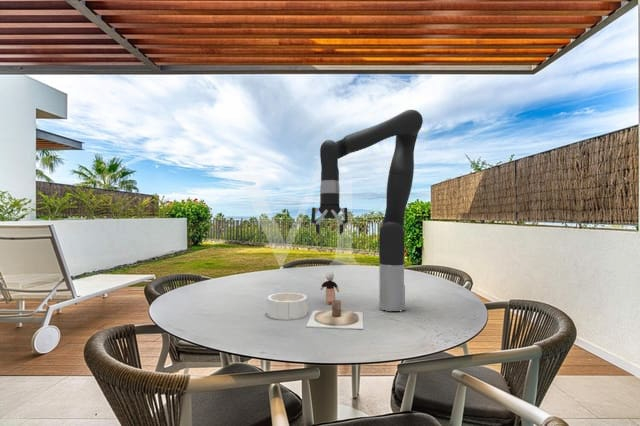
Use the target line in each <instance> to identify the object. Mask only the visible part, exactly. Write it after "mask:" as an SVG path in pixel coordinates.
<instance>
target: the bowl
mask: <svg viewBox="0 0 640 426" xmlns="http://www.w3.org/2000/svg"><path fill="white" fill-rule="evenodd" d="M285 300H290V301H285ZM266 315H267V316H268V318H271V319H275V320H279V321H282V320H283V321H284V320H285V321H289V320H290V321H291V320H298V319H301V318H305V317H306V316H307V315H308V295H306V294H305V293H299V292H278V293H273V294H269V296H267V298H266Z"/></svg>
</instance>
